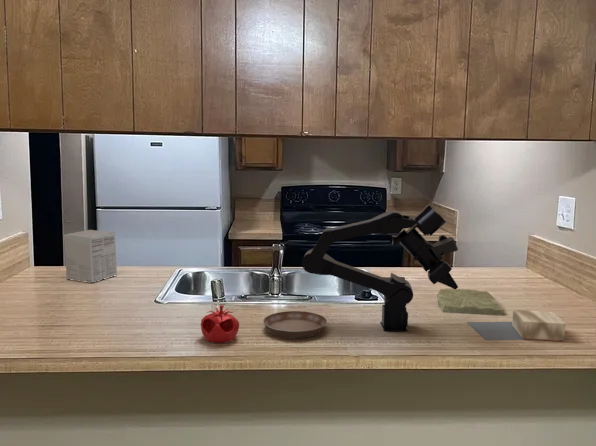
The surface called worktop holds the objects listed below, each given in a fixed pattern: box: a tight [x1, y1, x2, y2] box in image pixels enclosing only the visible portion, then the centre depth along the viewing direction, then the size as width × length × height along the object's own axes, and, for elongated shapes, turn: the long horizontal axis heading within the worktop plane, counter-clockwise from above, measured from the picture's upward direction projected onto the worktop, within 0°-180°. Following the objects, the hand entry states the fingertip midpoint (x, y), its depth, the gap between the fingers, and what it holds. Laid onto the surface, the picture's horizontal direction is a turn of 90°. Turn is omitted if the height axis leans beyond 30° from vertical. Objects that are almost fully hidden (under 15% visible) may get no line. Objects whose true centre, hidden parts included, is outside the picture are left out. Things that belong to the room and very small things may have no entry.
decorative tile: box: [436, 288, 504, 317], centre depth 167 cm, size 19×20×4 cm
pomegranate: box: [200, 304, 240, 344], centre depth 137 cm, size 10×10×9 cm
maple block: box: [511, 309, 567, 342], centre depth 141 cm, size 5×10×10 cm
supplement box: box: [63, 229, 118, 283], centre depth 197 cm, size 13×13×18 cm
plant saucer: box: [262, 310, 327, 339], centre depth 145 cm, size 18×18×3 cm
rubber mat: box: [466, 321, 570, 341], centre depth 144 cm, size 22×14×1 cm, turn 92°
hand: (456, 288), depth 143 cm, fingers closed
